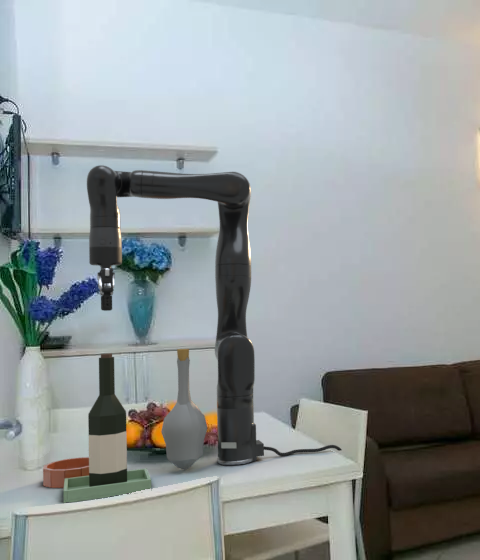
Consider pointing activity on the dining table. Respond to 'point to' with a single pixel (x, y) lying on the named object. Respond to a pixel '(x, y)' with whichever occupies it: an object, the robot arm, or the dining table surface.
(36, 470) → the dining table surface
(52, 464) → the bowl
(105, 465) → the wine bottle
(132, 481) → the tray
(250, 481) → the dining table surface
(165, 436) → the bottle
